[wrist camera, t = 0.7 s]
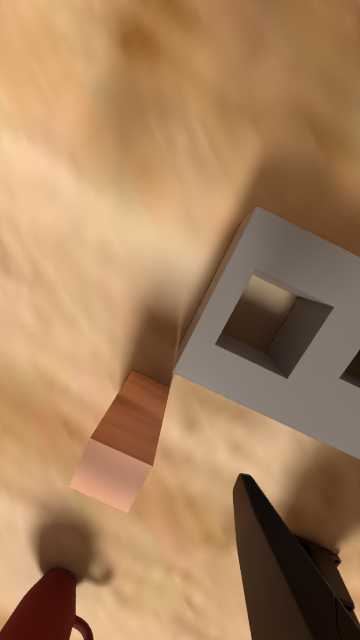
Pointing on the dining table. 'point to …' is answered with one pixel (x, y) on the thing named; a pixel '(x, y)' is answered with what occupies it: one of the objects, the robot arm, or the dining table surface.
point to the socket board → (284, 332)
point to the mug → (47, 611)
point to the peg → (123, 444)
